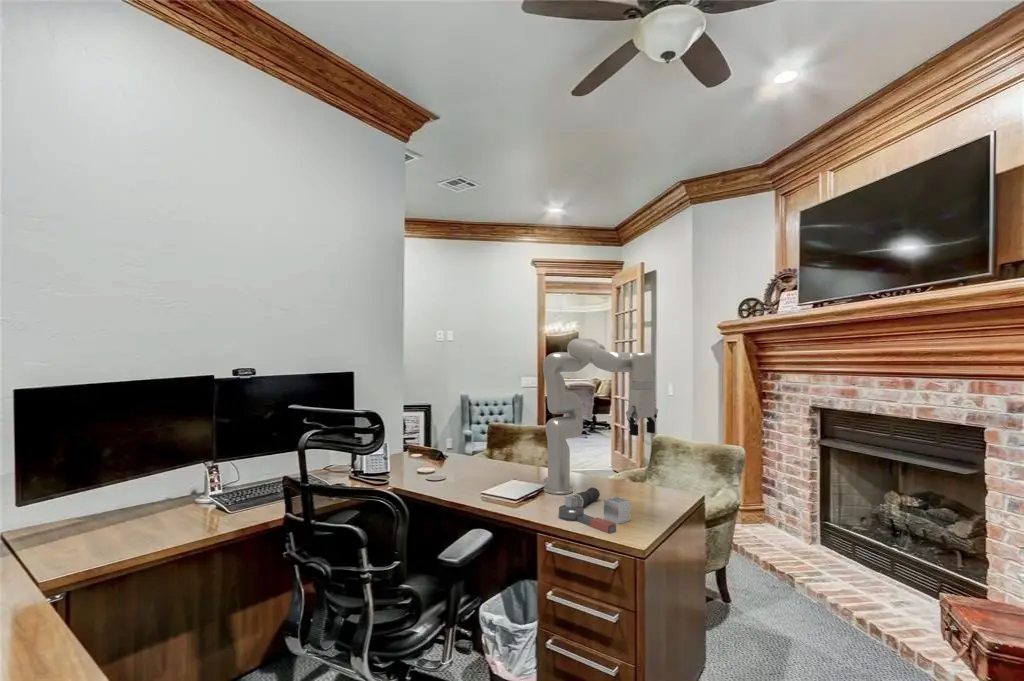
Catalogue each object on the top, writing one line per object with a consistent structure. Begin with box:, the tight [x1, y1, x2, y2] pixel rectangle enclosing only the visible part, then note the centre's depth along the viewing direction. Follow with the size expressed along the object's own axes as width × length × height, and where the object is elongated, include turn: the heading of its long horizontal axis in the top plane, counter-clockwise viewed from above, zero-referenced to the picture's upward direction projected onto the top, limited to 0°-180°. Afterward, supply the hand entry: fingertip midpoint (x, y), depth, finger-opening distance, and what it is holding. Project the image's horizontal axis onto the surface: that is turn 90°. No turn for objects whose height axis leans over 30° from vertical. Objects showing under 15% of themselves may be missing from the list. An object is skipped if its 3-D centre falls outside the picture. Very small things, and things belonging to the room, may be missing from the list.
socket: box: [603, 496, 632, 525], centre depth 173 cm, size 7×7×7 cm
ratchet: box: [558, 495, 617, 534], centre depth 170 cm, size 24×9×7 cm, turn 38°
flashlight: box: [572, 487, 600, 508], centre depth 192 cm, size 15×5×5 cm, turn 144°
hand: (642, 434), depth 175 cm, fingers open, 9 cm apart
